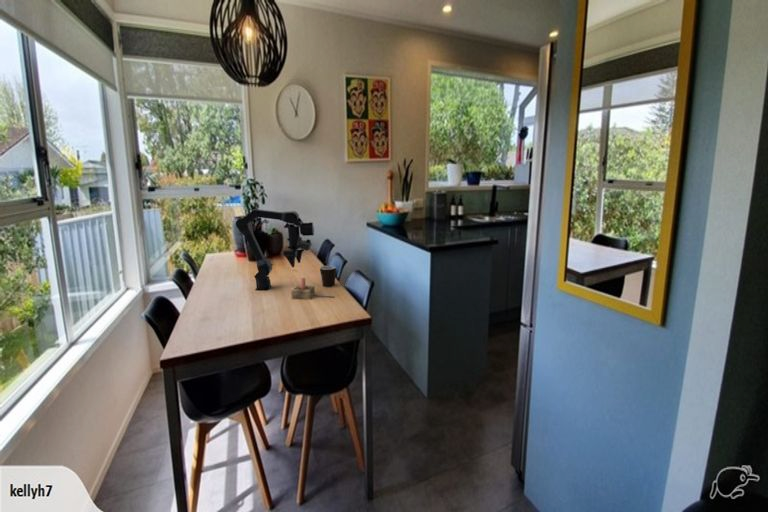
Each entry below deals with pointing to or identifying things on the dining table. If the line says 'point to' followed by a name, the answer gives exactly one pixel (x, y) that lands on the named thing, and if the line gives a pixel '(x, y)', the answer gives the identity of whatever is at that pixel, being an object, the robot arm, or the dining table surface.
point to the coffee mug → (328, 275)
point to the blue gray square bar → (324, 296)
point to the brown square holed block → (303, 292)
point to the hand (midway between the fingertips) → (296, 264)
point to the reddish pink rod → (303, 283)
